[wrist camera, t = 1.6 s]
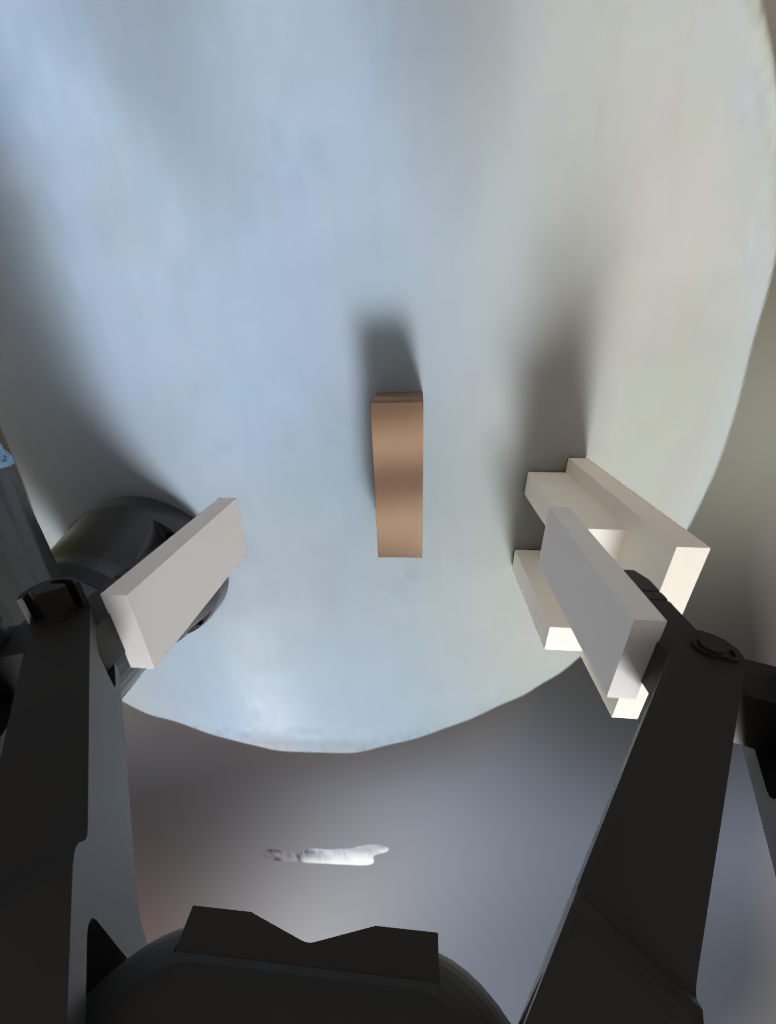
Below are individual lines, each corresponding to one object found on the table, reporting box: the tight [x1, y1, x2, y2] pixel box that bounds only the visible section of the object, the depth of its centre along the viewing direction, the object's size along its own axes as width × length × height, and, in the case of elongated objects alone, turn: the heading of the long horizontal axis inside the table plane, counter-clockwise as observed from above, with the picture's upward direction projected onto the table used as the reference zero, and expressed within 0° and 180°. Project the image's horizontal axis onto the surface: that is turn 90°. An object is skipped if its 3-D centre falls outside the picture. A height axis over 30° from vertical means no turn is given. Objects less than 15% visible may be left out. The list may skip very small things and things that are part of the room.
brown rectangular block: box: [370, 392, 423, 558], centre depth 29 cm, size 12×4×5 cm, turn 2°
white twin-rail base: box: [512, 458, 710, 719], centre depth 26 cm, size 4×12×14 cm, turn 0°
